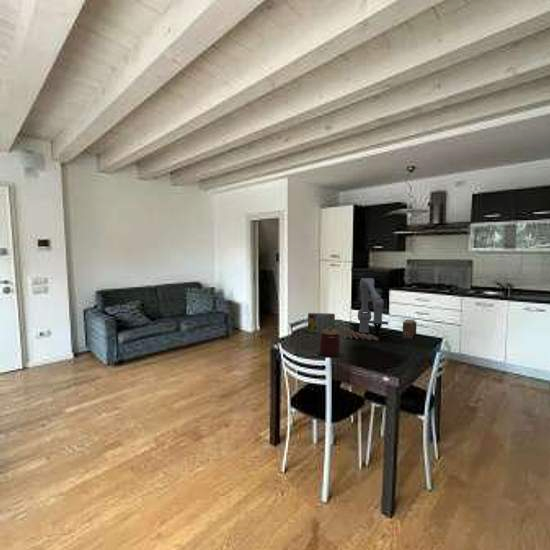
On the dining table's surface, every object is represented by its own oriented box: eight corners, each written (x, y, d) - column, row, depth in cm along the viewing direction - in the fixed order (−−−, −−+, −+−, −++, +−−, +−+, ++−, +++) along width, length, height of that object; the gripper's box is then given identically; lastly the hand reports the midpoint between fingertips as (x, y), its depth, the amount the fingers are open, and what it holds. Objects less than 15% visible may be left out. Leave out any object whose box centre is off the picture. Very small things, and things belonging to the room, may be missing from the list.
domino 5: (376, 339, 250) (367, 335, 251) (377, 337, 250) (368, 333, 251) (377, 341, 245) (368, 337, 247) (378, 339, 245) (369, 335, 246)
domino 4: (370, 338, 251) (361, 334, 252) (371, 336, 251) (362, 332, 252) (370, 340, 246) (361, 336, 248) (371, 338, 246) (362, 334, 247)
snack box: (334, 331, 271) (334, 313, 270) (334, 333, 266) (335, 314, 264) (307, 330, 273) (308, 312, 272) (307, 332, 268) (308, 313, 266)
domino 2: (350, 337, 254) (347, 328, 254) (352, 336, 254) (349, 328, 254) (350, 339, 250) (347, 330, 250) (352, 338, 249) (349, 329, 249)
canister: (324, 348, 226) (324, 323, 224) (342, 352, 219) (343, 325, 218) (316, 354, 215) (317, 327, 213) (335, 357, 208) (336, 330, 206)
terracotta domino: (363, 338, 252) (355, 333, 253) (364, 336, 252) (356, 331, 253) (363, 340, 247) (355, 335, 248) (365, 338, 247) (356, 333, 248)
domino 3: (357, 337, 253) (350, 331, 254) (358, 336, 253) (352, 329, 254) (357, 339, 248) (350, 332, 249) (358, 338, 248) (352, 331, 249)
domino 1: (343, 336, 255) (343, 328, 255) (345, 337, 255) (346, 328, 254) (343, 338, 251) (343, 329, 250) (345, 338, 250) (346, 329, 250)
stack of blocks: (408, 331, 272) (408, 317, 271) (416, 333, 269) (417, 318, 268) (402, 338, 254) (402, 322, 253) (410, 339, 251) (411, 323, 250)
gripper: (368, 316, 244) (367, 334, 245) (388, 317, 241) (388, 335, 242) (367, 314, 251) (366, 331, 252) (387, 315, 247) (387, 333, 249)
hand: (377, 333), depth 247 cm, fingers closed
